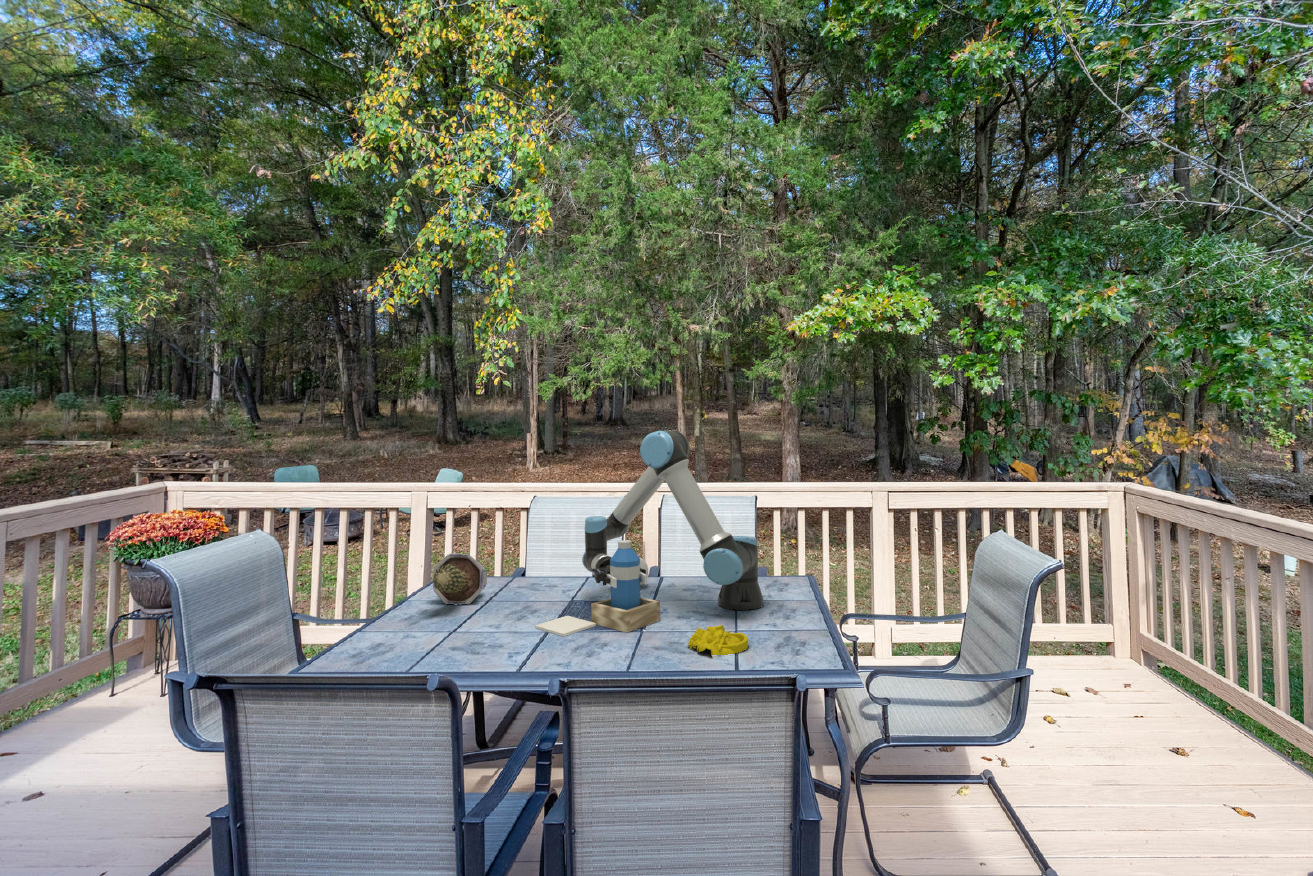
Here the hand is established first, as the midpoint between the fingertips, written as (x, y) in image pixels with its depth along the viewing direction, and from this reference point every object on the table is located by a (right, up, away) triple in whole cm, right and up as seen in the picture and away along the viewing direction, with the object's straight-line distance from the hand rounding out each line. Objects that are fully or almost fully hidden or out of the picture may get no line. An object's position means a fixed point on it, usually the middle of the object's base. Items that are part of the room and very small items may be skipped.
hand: (630, 581), depth 198 cm
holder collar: (-2, -13, +4) cm, 14 cm away
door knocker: (+25, -14, -19) cm, 34 cm away
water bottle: (-2, -14, +4) cm, 14 cm away
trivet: (-20, -14, 0) cm, 24 cm away
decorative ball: (-1, -13, +48) cm, 49 cm away
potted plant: (-61, -14, +26) cm, 68 cm away
